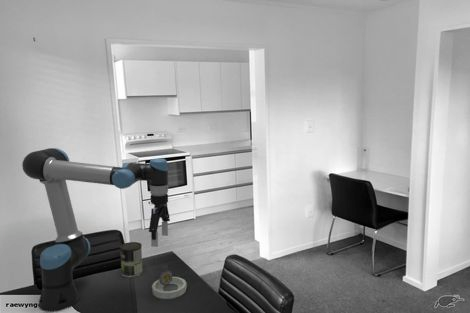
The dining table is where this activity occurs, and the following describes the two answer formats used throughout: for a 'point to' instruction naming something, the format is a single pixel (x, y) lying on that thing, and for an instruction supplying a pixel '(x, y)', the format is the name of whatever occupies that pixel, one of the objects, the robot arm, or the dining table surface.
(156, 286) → the dish
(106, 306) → the dining table surface
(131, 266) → the coffee can
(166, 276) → the pocket watch
